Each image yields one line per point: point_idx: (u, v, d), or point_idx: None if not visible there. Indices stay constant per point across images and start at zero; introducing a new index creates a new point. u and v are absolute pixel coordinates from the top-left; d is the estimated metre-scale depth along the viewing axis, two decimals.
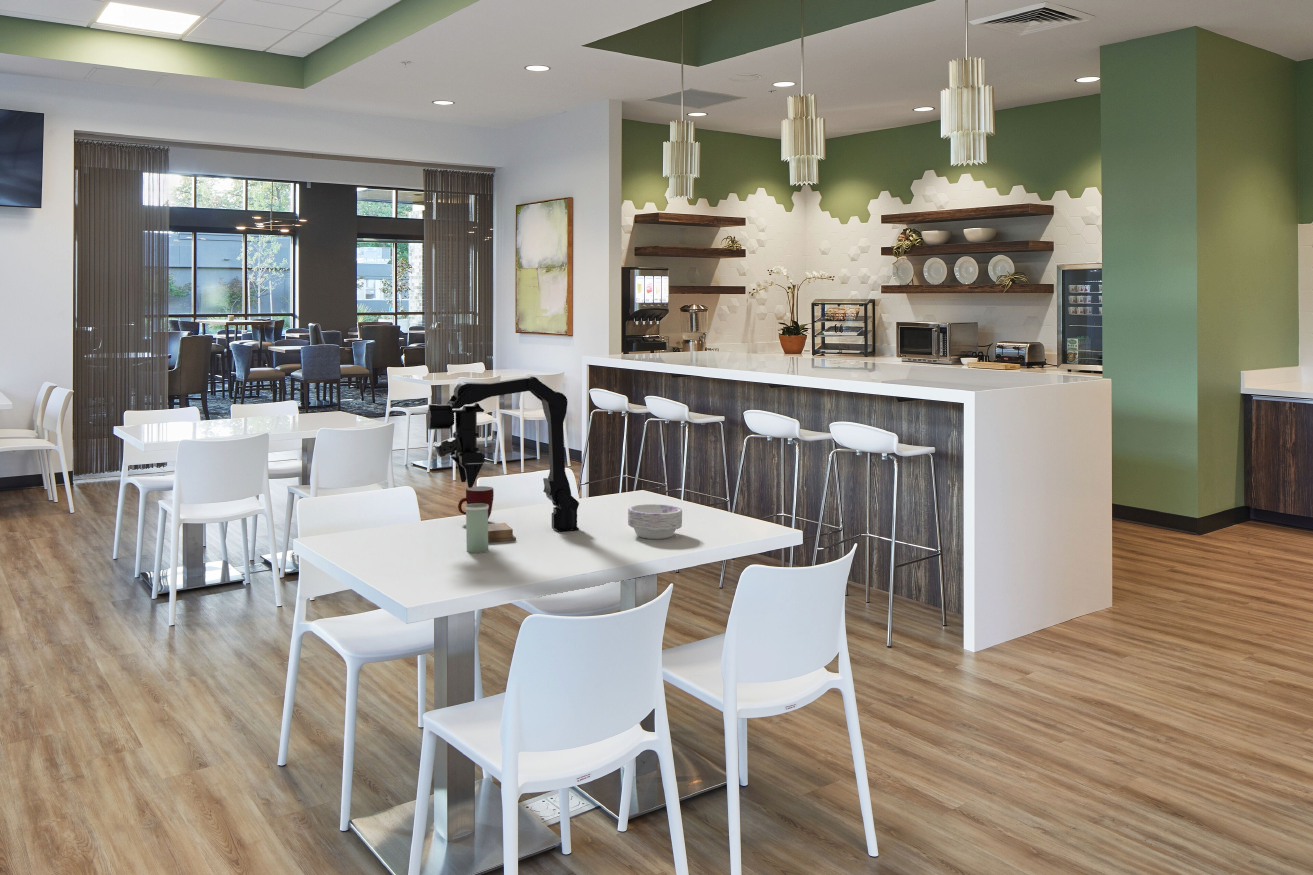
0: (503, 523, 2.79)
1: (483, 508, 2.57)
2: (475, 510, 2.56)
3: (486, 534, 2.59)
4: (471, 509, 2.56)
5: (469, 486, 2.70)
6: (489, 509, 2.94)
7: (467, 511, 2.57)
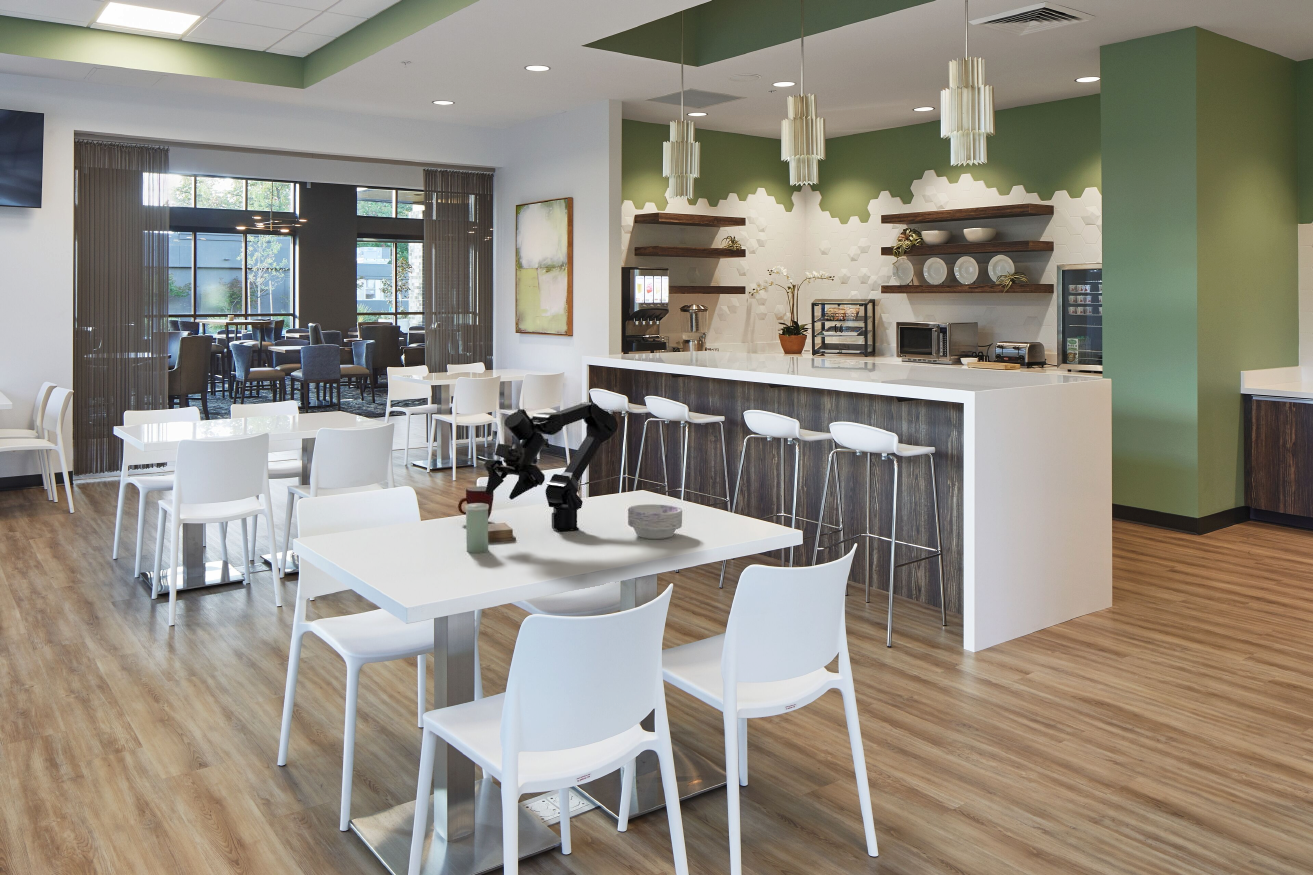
0: (503, 523, 2.79)
1: (483, 508, 2.57)
2: (475, 510, 2.56)
3: (486, 534, 2.59)
4: (471, 509, 2.56)
5: (511, 497, 2.62)
6: (489, 509, 2.94)
7: (467, 511, 2.57)
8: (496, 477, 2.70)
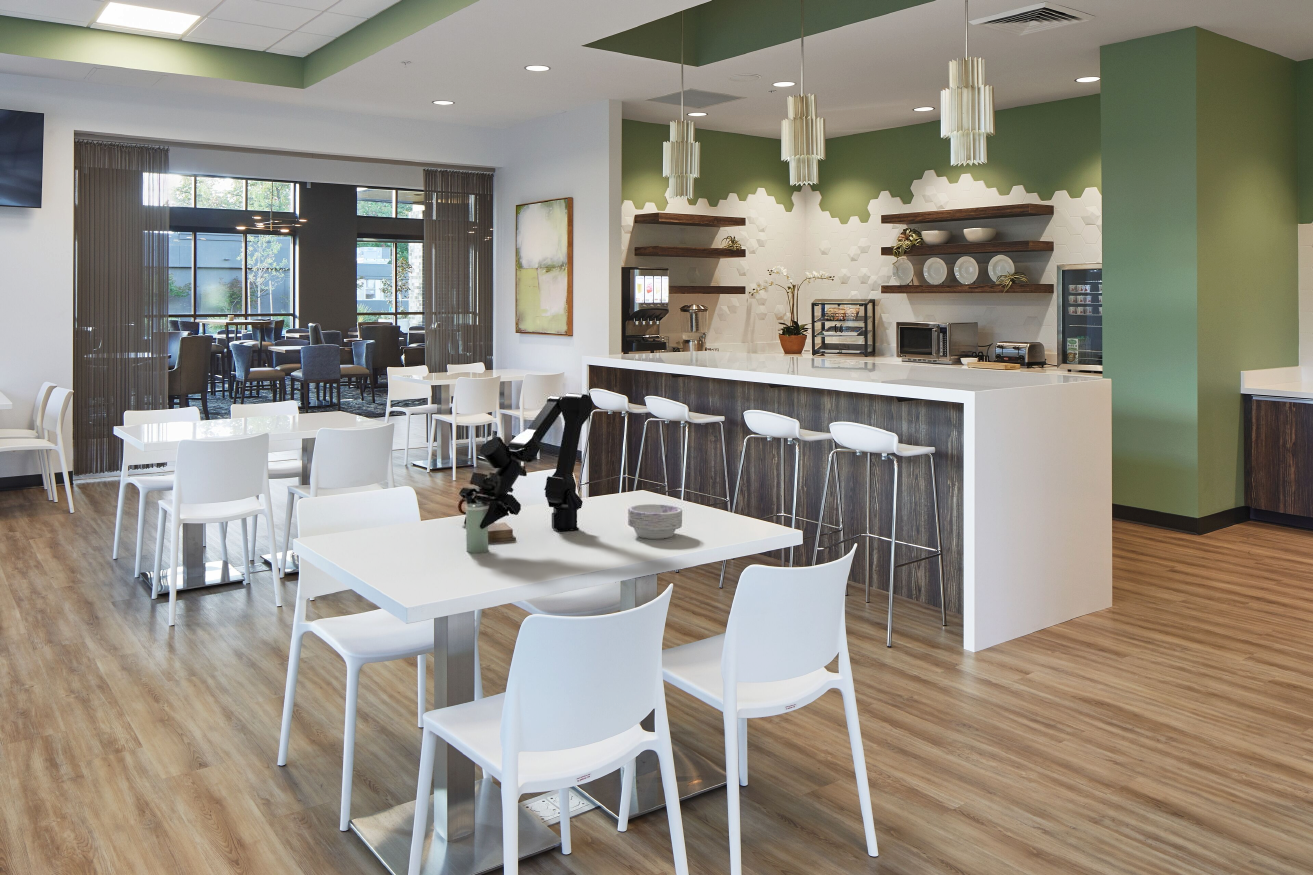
0: (503, 523, 2.79)
1: (483, 508, 2.57)
2: (475, 510, 2.56)
3: (486, 534, 2.59)
4: (471, 509, 2.56)
5: (481, 526, 2.56)
6: None
7: (467, 511, 2.57)
8: None
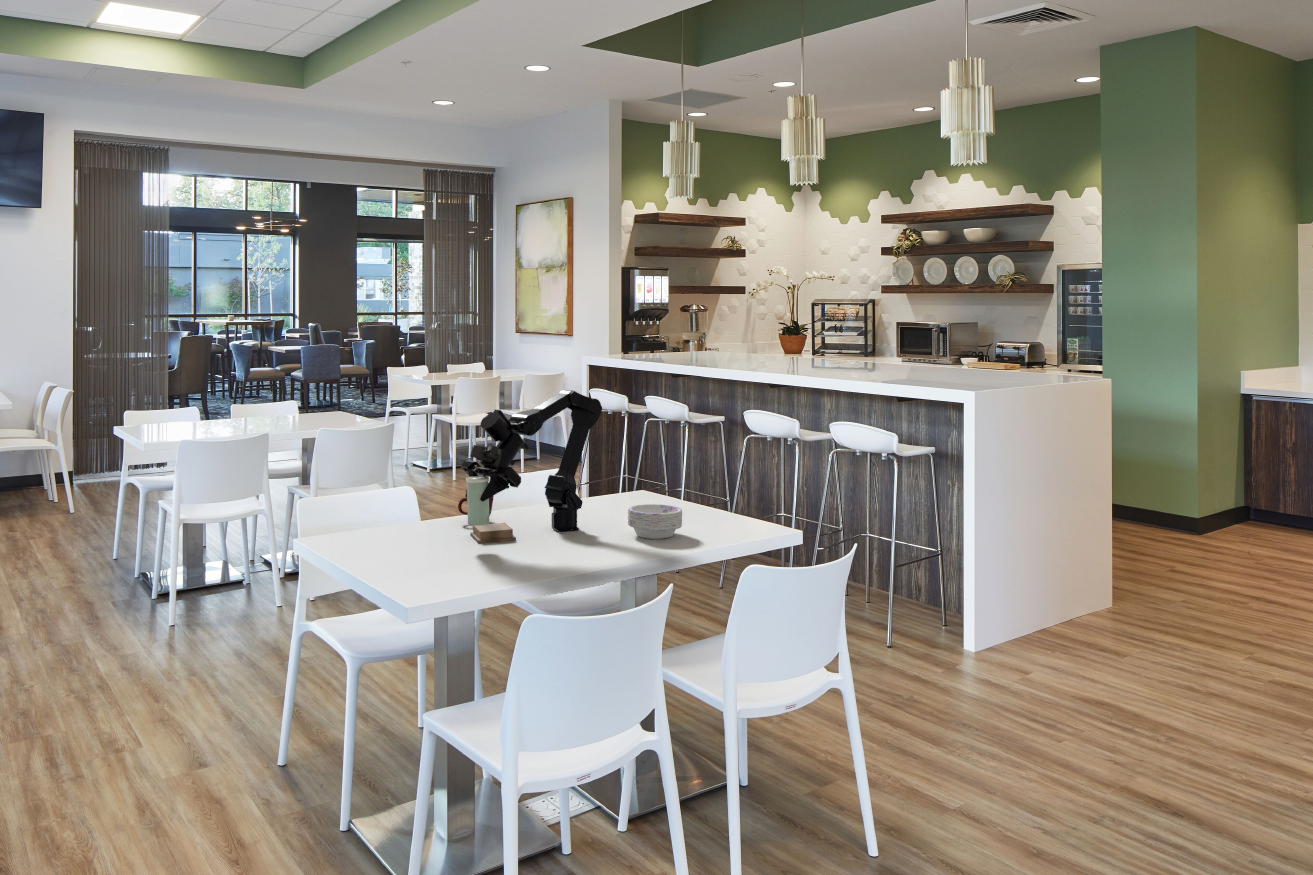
0: (503, 523, 2.79)
1: (483, 481, 2.58)
2: (475, 483, 2.57)
3: (487, 507, 2.60)
4: (471, 482, 2.57)
5: (482, 499, 2.57)
6: (489, 509, 2.94)
7: (467, 484, 2.58)
8: None
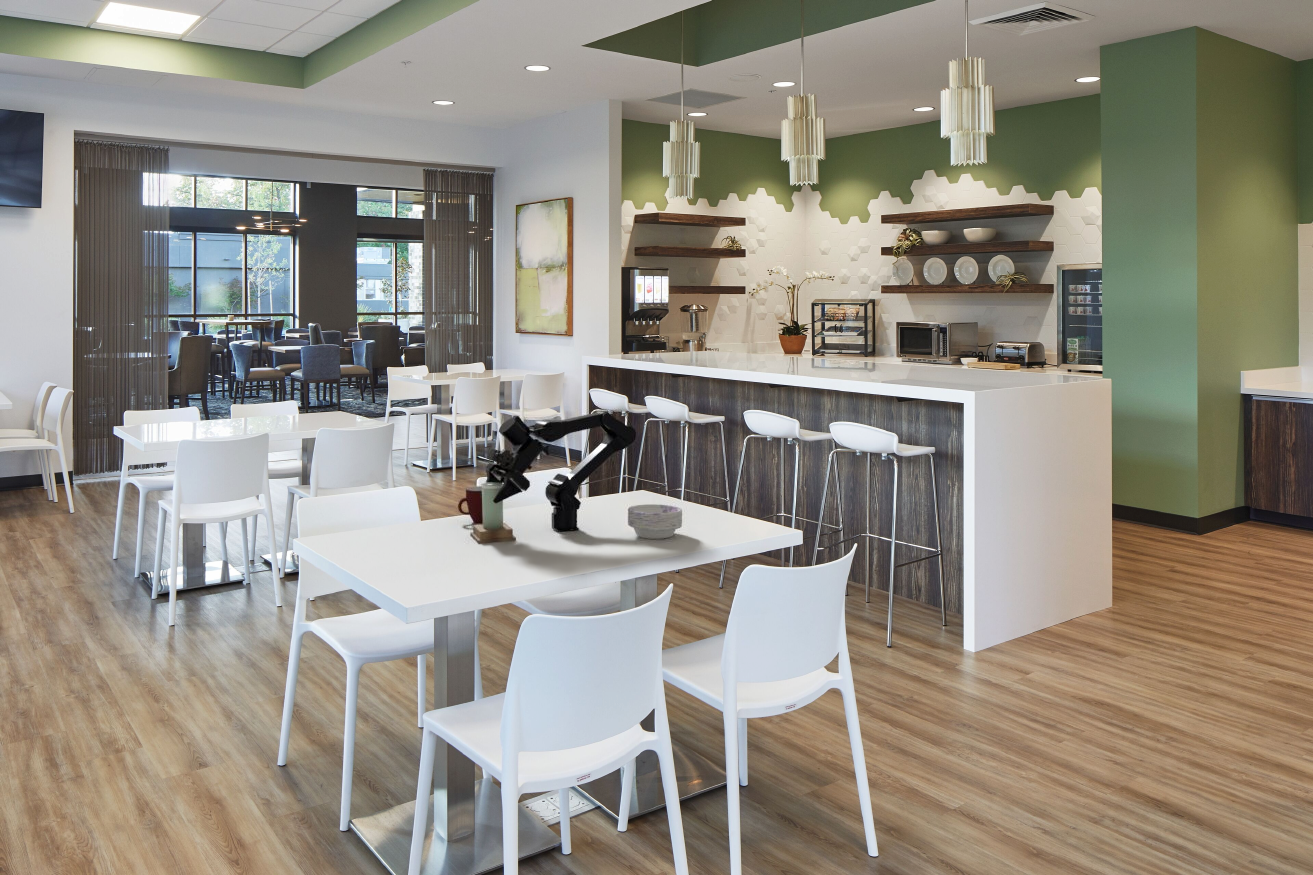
0: (503, 523, 2.79)
1: (495, 487, 2.70)
2: (487, 488, 2.70)
3: (499, 512, 2.72)
4: (484, 487, 2.71)
5: (494, 500, 2.69)
6: None
7: (482, 489, 2.72)
8: (494, 480, 2.79)
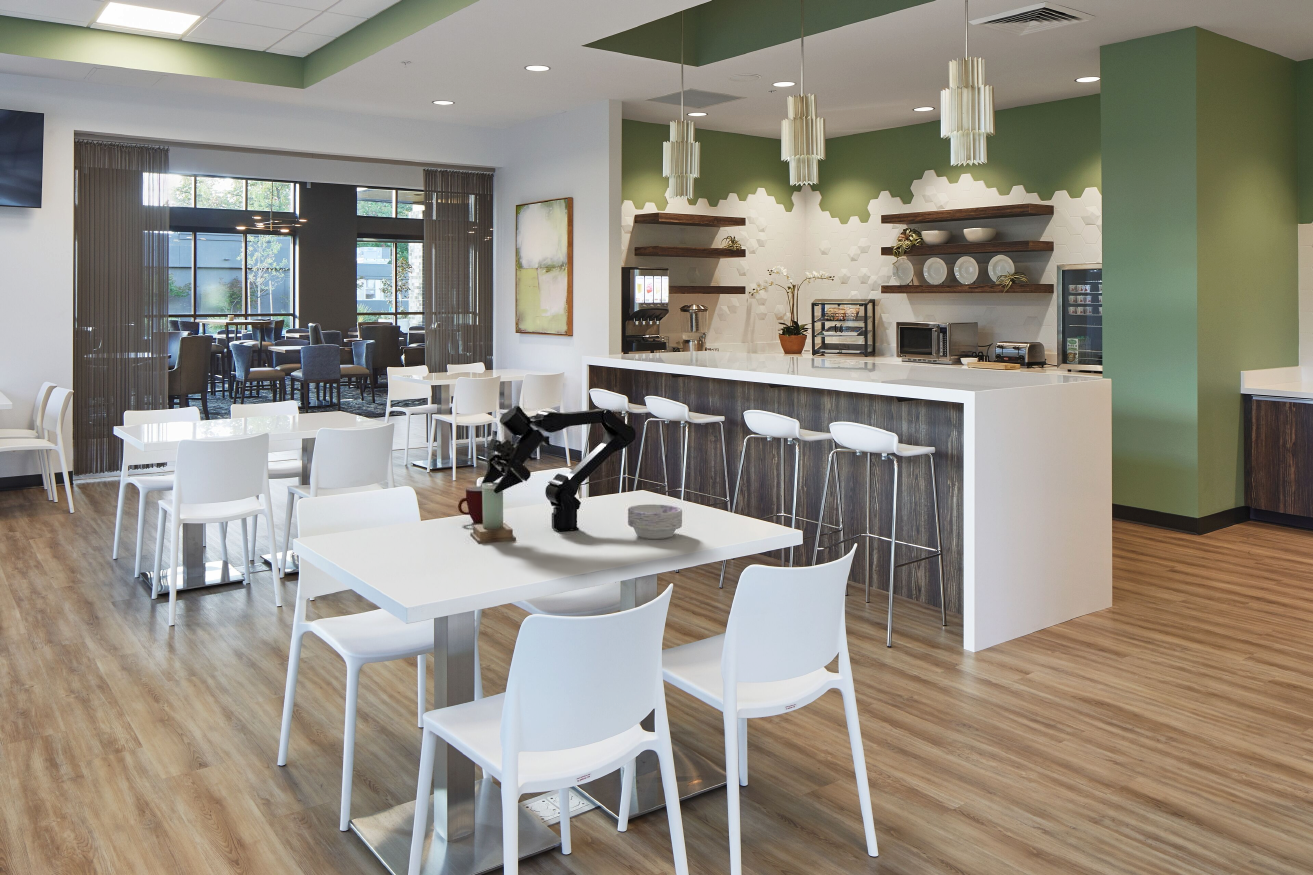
0: (503, 523, 2.79)
1: None
2: (487, 488, 2.70)
3: (499, 512, 2.72)
4: (484, 487, 2.71)
5: (495, 490, 2.68)
6: None
7: (482, 489, 2.72)
8: (494, 471, 2.78)
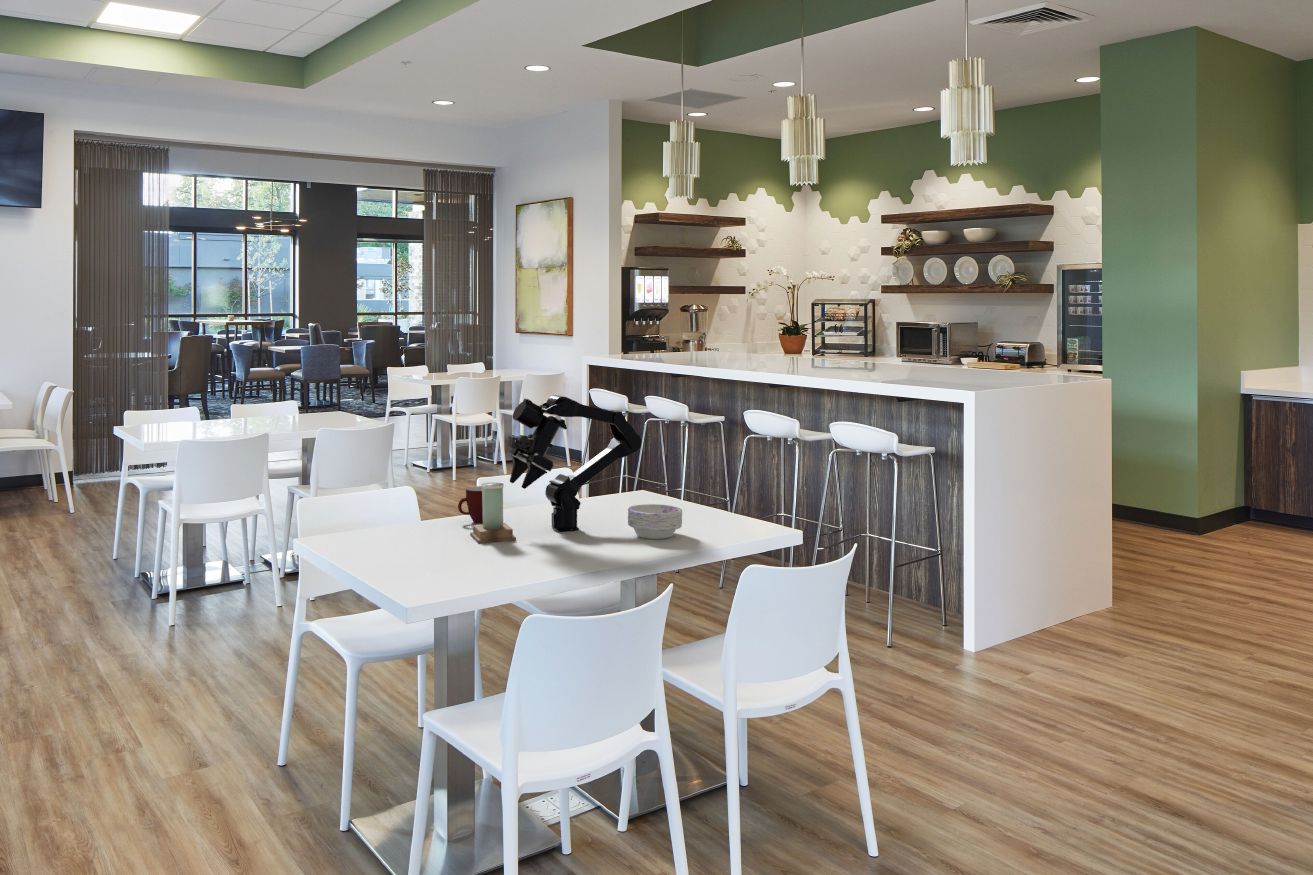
0: (503, 523, 2.79)
1: (495, 487, 2.70)
2: (487, 488, 2.70)
3: (499, 512, 2.72)
4: (484, 487, 2.71)
5: (523, 486, 2.74)
6: None
7: (482, 489, 2.72)
8: (520, 464, 2.83)
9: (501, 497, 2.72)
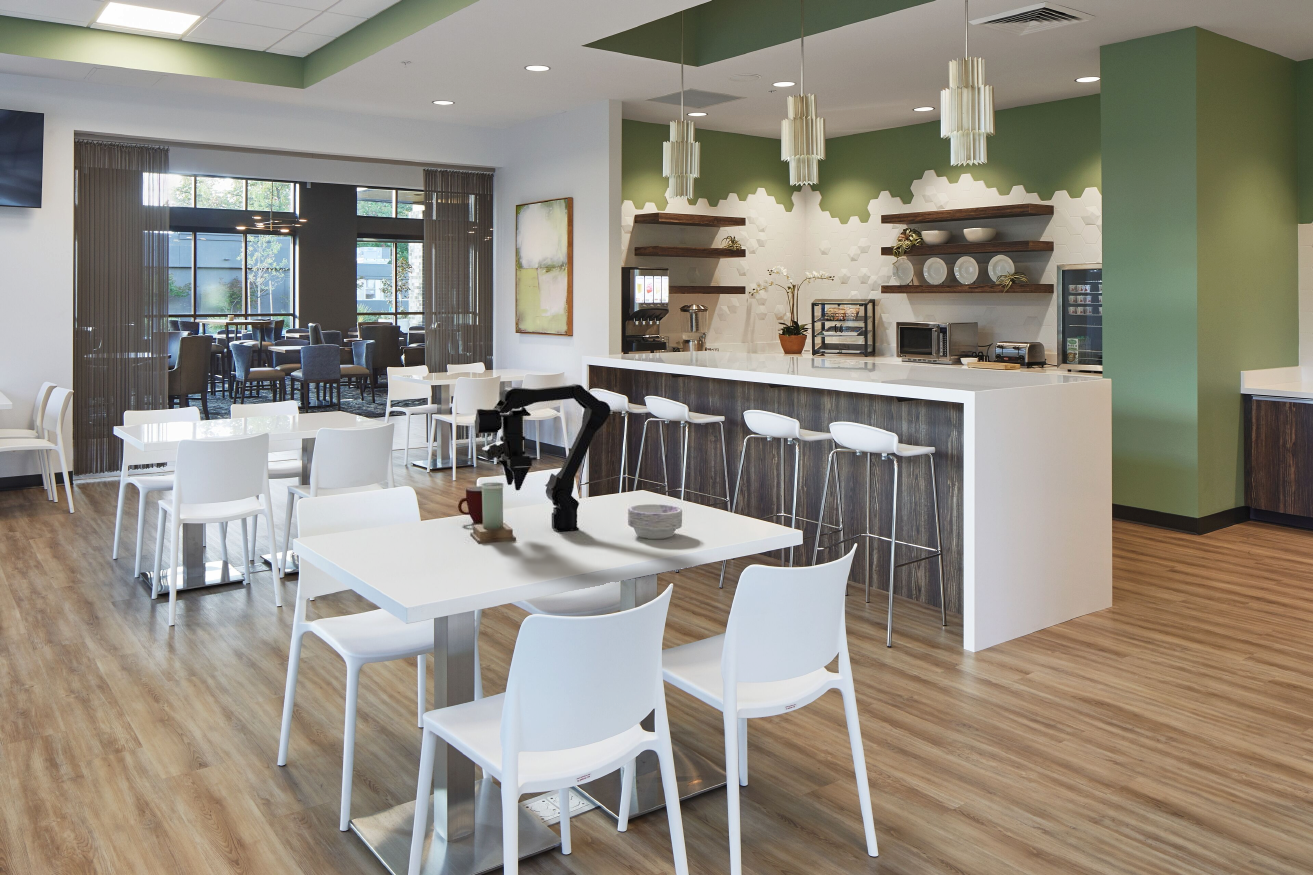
0: (503, 523, 2.79)
1: (495, 487, 2.70)
2: (487, 488, 2.70)
3: (499, 512, 2.72)
4: (484, 487, 2.71)
5: (517, 489, 2.75)
6: None
7: (482, 489, 2.72)
8: None
9: (501, 497, 2.72)
